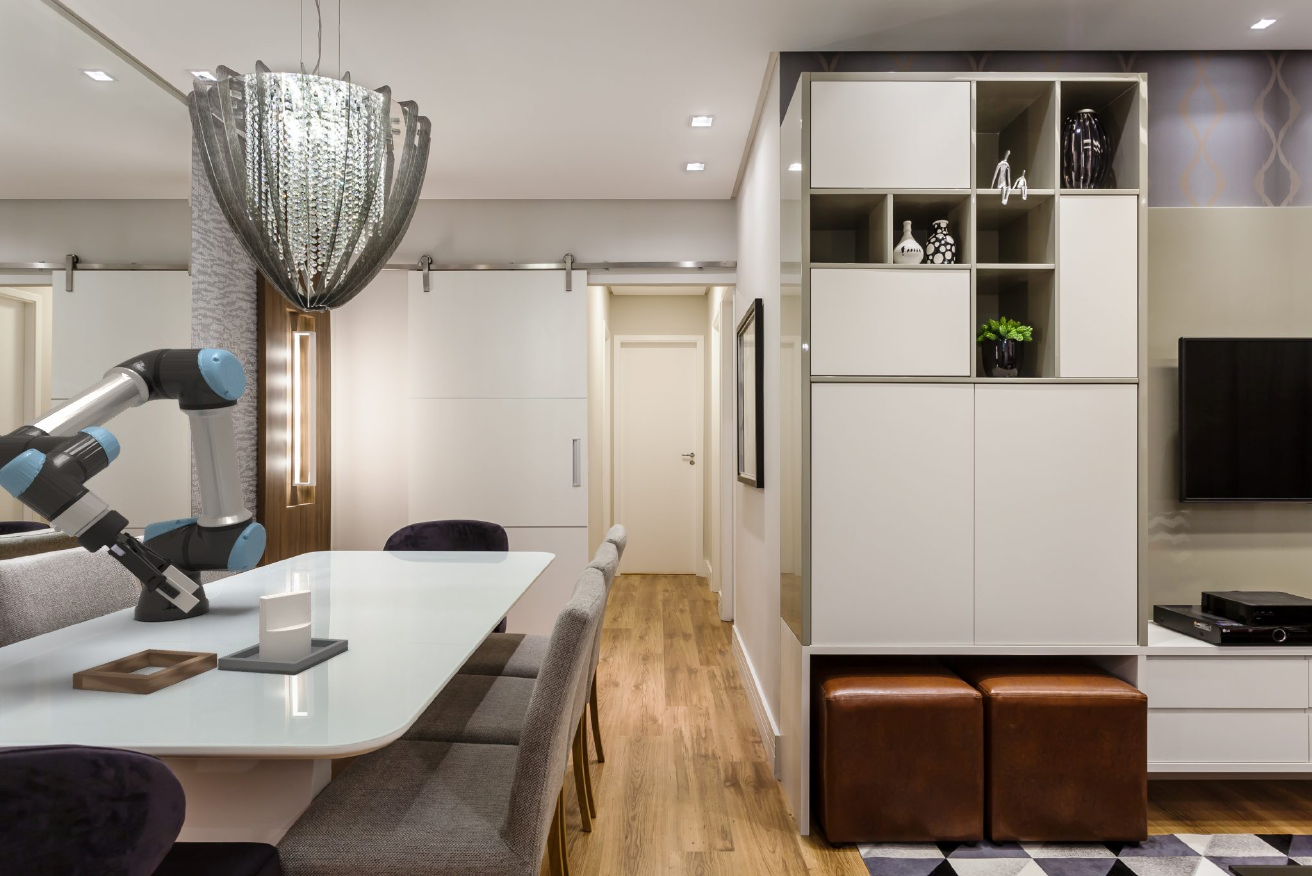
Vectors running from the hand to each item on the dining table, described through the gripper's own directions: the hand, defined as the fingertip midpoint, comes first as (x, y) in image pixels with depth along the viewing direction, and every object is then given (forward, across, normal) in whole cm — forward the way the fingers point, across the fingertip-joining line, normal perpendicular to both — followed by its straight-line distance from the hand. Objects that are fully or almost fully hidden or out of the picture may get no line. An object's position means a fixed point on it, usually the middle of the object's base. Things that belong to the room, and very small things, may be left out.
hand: (193, 599), depth 136 cm
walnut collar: (+4, +2, -14) cm, 15 cm away
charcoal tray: (+20, +4, +2) cm, 20 cm away
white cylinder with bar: (+19, +4, +2) cm, 20 cm away
